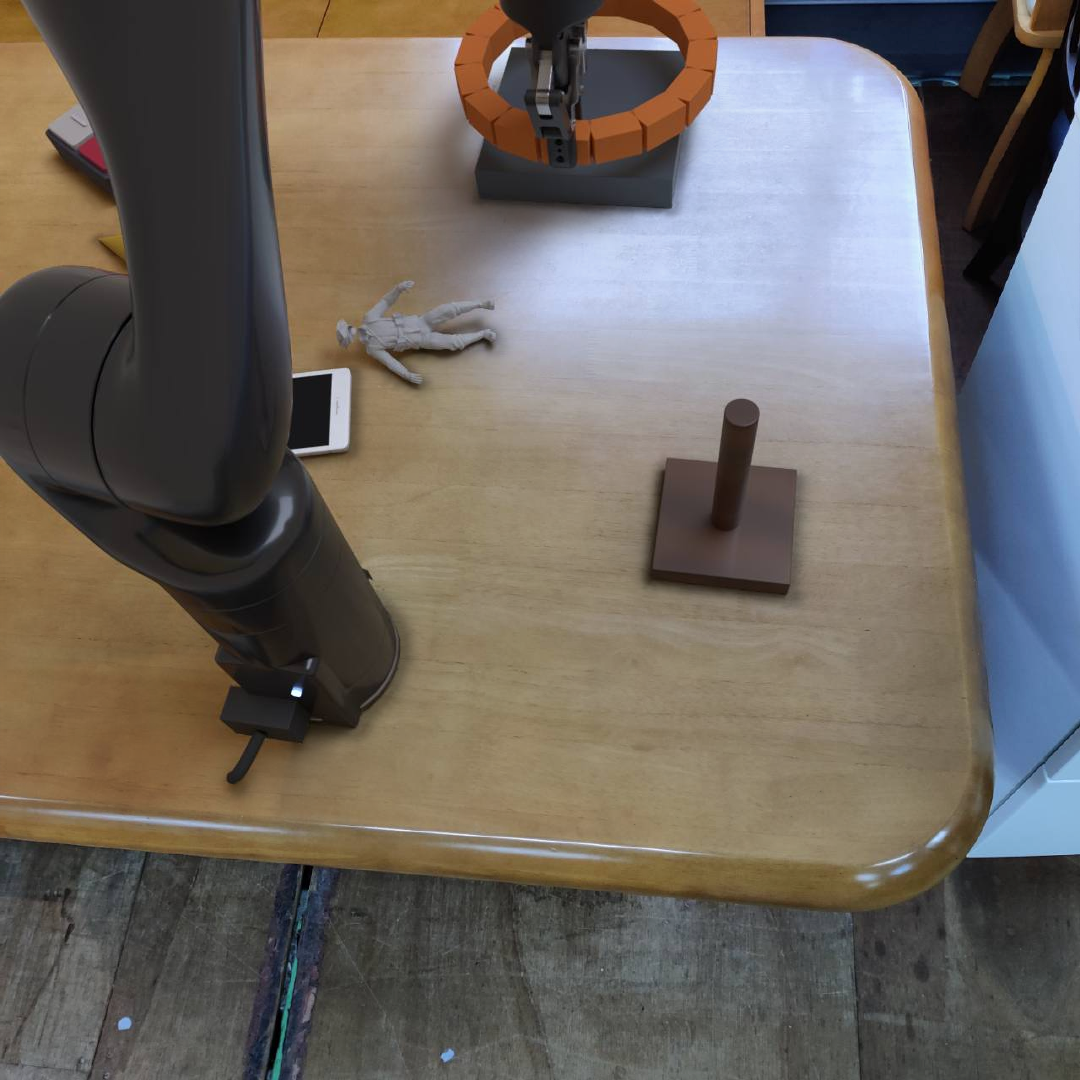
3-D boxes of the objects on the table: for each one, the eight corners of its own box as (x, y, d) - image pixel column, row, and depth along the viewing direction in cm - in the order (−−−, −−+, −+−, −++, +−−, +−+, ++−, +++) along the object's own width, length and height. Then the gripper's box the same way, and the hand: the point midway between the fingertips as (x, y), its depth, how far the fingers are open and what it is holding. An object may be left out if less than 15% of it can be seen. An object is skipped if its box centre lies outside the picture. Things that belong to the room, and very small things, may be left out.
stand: (671, 208, 81) (672, 179, 79) (479, 198, 84) (474, 170, 82) (691, 80, 89) (692, 50, 87) (515, 75, 92) (511, 46, 90)
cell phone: (155, 395, 76) (152, 390, 76) (352, 371, 76) (350, 366, 75) (143, 476, 73) (139, 471, 72) (349, 452, 72) (347, 447, 71)
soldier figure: (500, 378, 75) (348, 389, 71) (482, 375, 80) (338, 385, 76) (495, 277, 74) (338, 282, 70) (477, 279, 78) (329, 284, 74)
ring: (702, 170, 75) (704, 144, 73) (435, 159, 78) (429, 134, 76) (725, 1, 85) (727, -25, 83) (487, -1, 88) (483, -27, 86)
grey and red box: (37, 125, 89) (161, 36, 93) (63, 161, 93) (181, 74, 97) (101, 173, 85) (228, 77, 89) (126, 209, 89) (247, 116, 93)
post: (787, 594, 63) (820, 486, 51) (651, 579, 65) (653, 470, 53) (794, 480, 67) (826, 356, 55) (666, 468, 69) (671, 345, 57)
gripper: (511, -128, 66) (536, 95, 81) (469, -7, 59) (505, 211, 74) (619, -129, 64) (624, 97, 79) (589, -5, 58) (600, 216, 73)
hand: (566, 151), depth 77 cm, fingers closed on ring, 2 cm apart
